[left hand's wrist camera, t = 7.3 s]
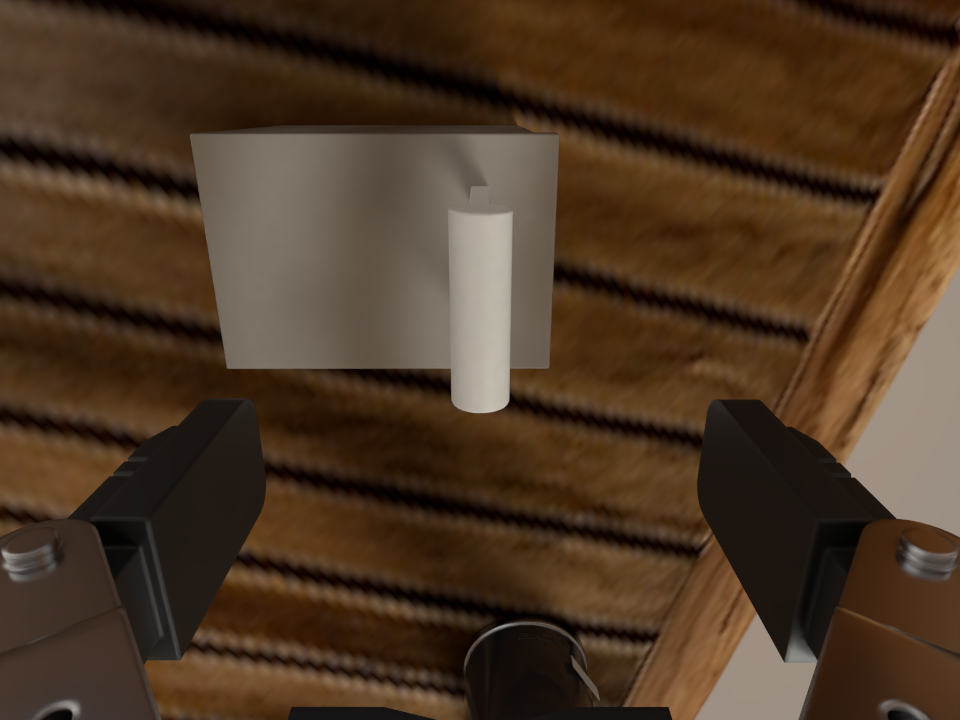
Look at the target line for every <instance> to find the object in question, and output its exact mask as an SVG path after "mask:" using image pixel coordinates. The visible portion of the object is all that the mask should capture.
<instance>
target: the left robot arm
mask: <svg viewBox="0 0 960 720" xmlns="http://www.w3.org/2000/svg"><path fill="white" fill-rule="evenodd" d="M697 490H698V499H699V504H700V508H701V511H702V513H703V515H704V517H705V519H706V521H707V522H708V524H709V526H710V528H711V530H712V531H713V533H714V535H715V537H716V539H717V541H718V542H719V544H720V546H721V548H722V550H723V552H724V553H725V555H726V557H727V559H728V561H729V562H730V564H731V566H732V568H733V570H734V572H735V573H736V575H737V577H738V579H739V581H740V582H741V584H742V586H743V588H744V590H745V592H746V593H747V595H748V597H749V599H750V601H751V603H752V604H753V606H754V608H755V610H756V612H757V613H758V615H759V617H760V619H761V621H762V623H763V624H764V626H765V628H766V630H767V632H768V633H769V635H770V637H771V639H772V641H773V643H774V644H775V646H776V648H777V650H778V652H779V653H780V655H781V657H782V659H783V661H784V662H817V665H816V668H815V671H814V674H813V677H812V680H811V683H810V686H809V689H808V692H807V695H806V699H805V702H804V705H803V708H802V711H801V714H800V717H799V720H960V537H958V536H956V535H954V534H952V533H949V532H947V531H945V530H942V529H940V528H937V527H934V526H931V525H927V524H924V523H920V522H915V521H910V520H903V519H896V518H895V517H894V516H893V515H892V514H891V513H890V512H889V511H888V510H887V509H886V508H885V507H884V506H883V505H882V504H881V503H880V502H879V501H878V500H877V499H876V498H875V497H874V496H873V495H872V494H871V493H870V492H869V491H868V490H867V489H866V488H865V487H864V486H863V485H862V484H861V483H860V482H859V481H858V480H857V479H856V478H851V473H850V472H849V471H848V470H847V469H846V468H845V467H844V466H843V465H842V464H841V463H836V459H835V458H834V457H833V456H832V455H831V454H830V453H829V452H828V451H827V450H826V449H825V448H824V447H823V446H822V445H821V444H820V443H819V442H818V441H816V440H814V439H812V438H811V437H809V436H807V435H805V434H803V433H801V432H800V431H798V430H796V429H794V428H792V427H786V426H785V425H784V424H783V423H782V422H781V421H780V420H779V419H778V418H777V417H776V416H775V415H774V414H773V413H772V412H771V411H770V410H769V409H768V408H767V407H766V406H765V405H764V403H763V402H761V401H760V400H713V401H712V402H711V404H710V406H709V408H708V412H707V418H706V425H705V431H704V438H703V445H702V452H701V458H700V465H699V472H698V480H697ZM265 493H266V476H265V469H264V462H263V455H262V448H261V441H260V434H259V428H258V421H257V414H256V409H255V406H254V404H253V402H252V401H251V400H250V399H204V400H202V401H201V402H200V403H199V404H198V406H197V407H196V408H195V409H194V410H193V411H192V412H191V413H190V414H189V415H188V416H187V417H186V418H185V419H184V420H183V421H182V422H181V423H180V424H179V426H172V427H170V428H168V429H166V430H164V431H162V432H161V433H159V434H157V435H155V436H153V437H152V438H150V439H148V440H146V441H145V442H144V443H143V444H142V445H141V446H140V447H139V448H138V449H137V450H136V451H135V452H134V453H133V454H132V455H131V456H130V457H129V458H128V462H124V463H123V464H122V465H121V466H120V467H119V468H118V469H117V470H116V471H115V472H114V476H110V477H109V478H108V479H107V480H106V481H105V482H104V483H103V484H102V485H101V486H100V487H99V488H98V489H97V490H96V491H95V492H94V493H93V494H92V495H91V496H90V497H89V498H88V499H87V500H86V501H85V502H84V503H83V504H81V505H80V506H79V507H78V508H77V509H76V510H75V511H74V512H73V513H72V514H71V515H70V516H69V517H68V518H67V519H57V520H50V521H45V522H40V523H36V524H32V525H29V526H26V527H23V528H20V529H18V530H15V531H13V532H11V533H8V534H6V535H4V536H2V537H0V720H161V717H160V714H159V711H158V708H157V705H156V702H155V699H154V695H153V692H152V689H151V686H150V683H149V680H148V677H147V674H146V671H145V668H144V664H145V662H146V661H147V660H181V658H182V656H183V655H184V653H185V651H186V649H187V647H188V645H189V644H190V642H191V640H192V638H193V636H194V634H195V633H196V631H197V629H198V627H199V625H200V623H201V621H202V620H203V618H204V616H205V614H206V612H207V610H208V609H209V607H210V605H211V603H212V601H213V599H214V598H215V596H216V594H217V592H218V590H219V588H220V586H221V585H222V583H223V581H224V579H225V577H226V575H227V574H228V572H229V570H230V568H231V566H232V564H233V562H234V561H235V559H236V557H237V555H238V553H239V551H240V550H241V548H242V546H243V544H244V542H245V540H246V539H247V537H248V535H249V533H250V531H251V529H252V527H253V526H254V524H255V522H256V520H257V518H258V516H259V515H260V513H261V510H262V508H263V504H264V500H265ZM464 678H465V694H464V720H672V717H671V714H670V711H669V708H668V707H593V702H592V696H591V691H590V689H591V690H592V692H593V693H594V694H595V696H596V697H597V698H598V700H599V701H600V699H599V694H598V690H597V688H596V687H595V685H594V684H593V683H592V682H591V680H590V679H589V678H588V675H587V663H586V658H585V653H584V649H583V646H582V644H581V642H580V641H579V639H578V638H577V637H576V635H575V634H574V633H573V632H572V631H571V630H569V629H568V628H567V627H565V626H564V625H562V624H560V623H558V622H556V621H553V620H551V619H547V618H543V617H538V616H515V617H509V618H505V619H502V620H499V621H496V622H494V623H492V624H490V625H488V626H487V627H485V628H484V629H482V630H481V631H480V632H479V633H478V634H477V635H476V636H475V637H474V638H473V639H472V640H471V642H470V643H469V645H468V647H467V650H466V652H465V657H464ZM288 720H435V719H431V718H427V717H422V716H418V715H414V714H410V713H406V712H402V711H398V710H394V709H390V708H386V707H292V708H291V711H290V714H289V717H288Z"/></svg>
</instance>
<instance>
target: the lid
mask: <svg viewBox="0 0 960 720" xmlns="http://www.w3.org/2000/svg"><path fill="white" fill-rule="evenodd" d="M190 140H191V146H192V152H193V159H194V165H195V171H196V177H197V184H198V190H199V196H200V202H201V209H202V215H203V221H204V227H205V234H206V240H207V246H208V252H209V259H210V265H211V271H212V277H213V284H214V290H215V296H216V302H217V309H218V315H219V321H220V327H221V334H222V340H223V346H224V352H225V359H226V365H227V368H228V369H451V397H452V402H453V404H454V405H455V406H456V407H457V408H459V409H461V410H463V411H467V412H473V413H488V412H494V411H497V410H500V409H502V408H504V407H505V406H506V405H507V404H508V402H509V383H510V368H549V363H550V340H551V317H552V295H553V272H554V249H555V226H556V204H557V181H558V158H559V134H557V133H192V134H190Z"/></svg>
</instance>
